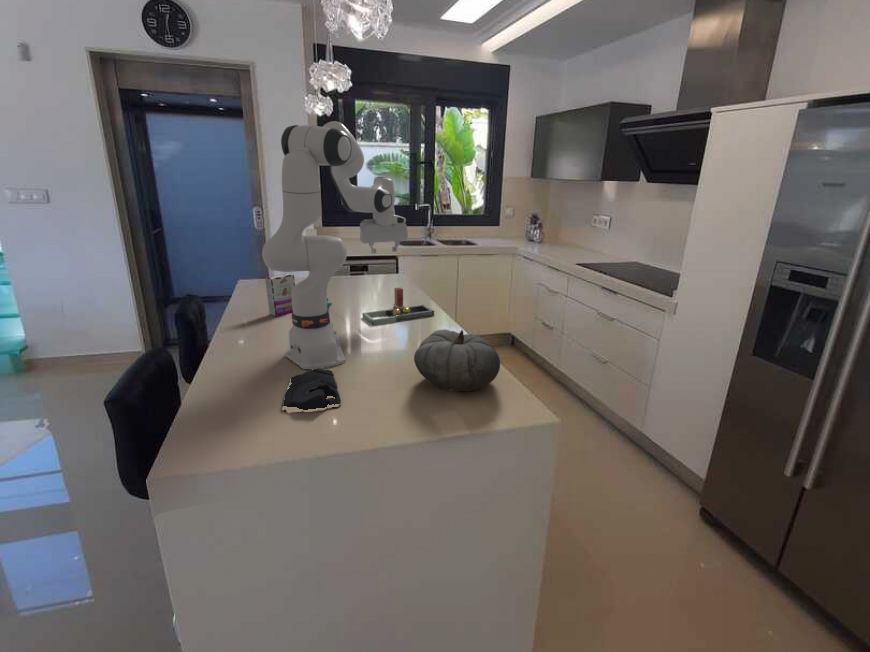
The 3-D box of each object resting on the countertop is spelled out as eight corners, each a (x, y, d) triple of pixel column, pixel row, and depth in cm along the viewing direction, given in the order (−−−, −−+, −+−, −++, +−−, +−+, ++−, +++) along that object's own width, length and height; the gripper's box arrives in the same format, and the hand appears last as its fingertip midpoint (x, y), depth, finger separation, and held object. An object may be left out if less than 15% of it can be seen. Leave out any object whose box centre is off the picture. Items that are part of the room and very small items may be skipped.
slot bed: (434, 317, 192) (434, 310, 191) (395, 323, 183) (395, 316, 182) (423, 311, 200) (423, 304, 199) (385, 316, 192) (385, 310, 191)
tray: (395, 324, 183) (395, 317, 182) (372, 327, 178) (372, 320, 177) (385, 316, 192) (384, 309, 191) (362, 319, 187) (362, 312, 187)
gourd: (423, 400, 117) (428, 334, 115) (403, 375, 141) (406, 320, 139) (511, 398, 125) (517, 336, 122) (477, 375, 148) (482, 323, 146)
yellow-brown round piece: (412, 316, 190) (412, 308, 189) (404, 317, 188) (404, 309, 187) (408, 313, 193) (408, 305, 192) (401, 314, 191) (401, 306, 190)
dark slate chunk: (340, 375, 138) (339, 361, 136) (341, 411, 118) (340, 395, 116) (287, 379, 135) (286, 364, 133) (279, 417, 115) (277, 400, 113)
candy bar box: (290, 308, 200) (287, 272, 195) (298, 311, 198) (294, 274, 192) (268, 314, 192) (264, 276, 187) (275, 317, 189) (271, 278, 184)
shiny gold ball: (402, 317, 188) (402, 309, 187) (394, 318, 186) (394, 310, 185) (398, 315, 191) (398, 307, 190) (391, 316, 189) (391, 308, 188)
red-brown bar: (404, 311, 199) (404, 289, 196) (398, 312, 198) (398, 290, 194) (399, 308, 204) (398, 286, 201) (393, 309, 203) (393, 287, 199)
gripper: (362, 221, 177) (363, 255, 182) (409, 218, 187) (409, 252, 192) (357, 218, 182) (358, 252, 187) (402, 216, 192) (402, 249, 197)
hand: (384, 252), depth 190 cm, fingers open, 8 cm apart
